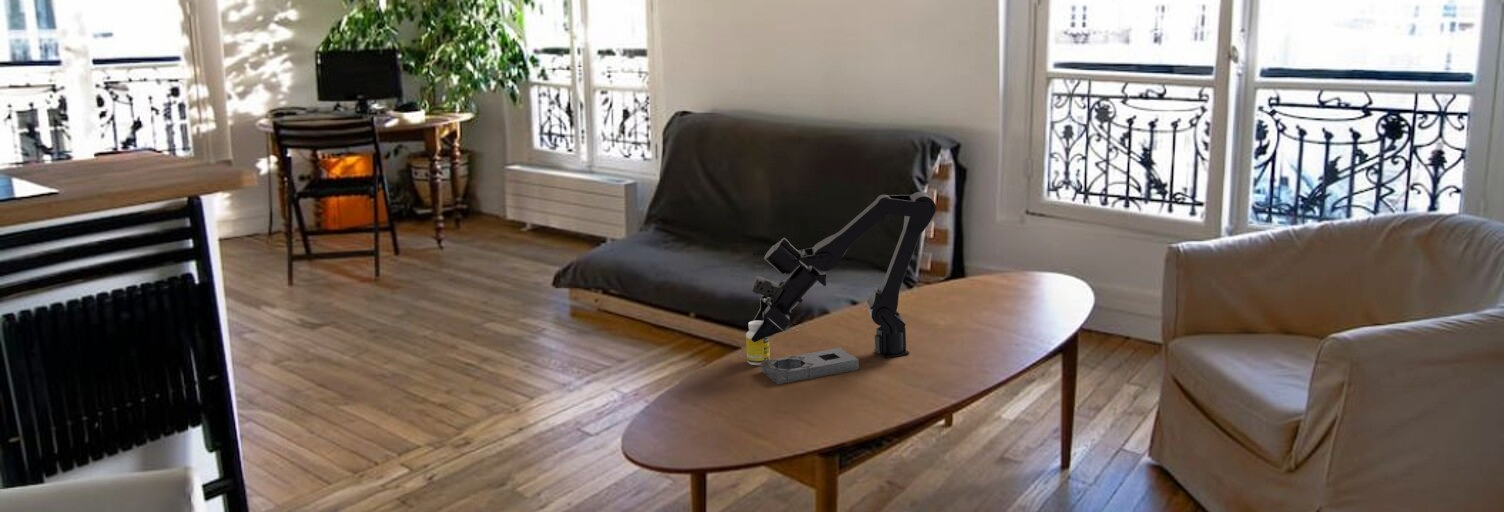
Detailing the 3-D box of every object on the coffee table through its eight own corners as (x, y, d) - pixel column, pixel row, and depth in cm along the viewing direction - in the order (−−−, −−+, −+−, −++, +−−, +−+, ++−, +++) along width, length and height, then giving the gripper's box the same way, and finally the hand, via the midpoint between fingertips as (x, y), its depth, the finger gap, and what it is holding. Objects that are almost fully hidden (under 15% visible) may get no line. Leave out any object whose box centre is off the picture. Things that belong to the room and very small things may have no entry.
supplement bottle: (768, 366, 277) (765, 325, 275) (745, 365, 278) (742, 325, 276) (772, 358, 282) (769, 319, 280) (750, 358, 283) (747, 319, 281)
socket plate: (840, 357, 280) (839, 347, 279) (859, 369, 270) (858, 359, 270) (760, 371, 273) (760, 361, 272) (777, 384, 263) (776, 374, 263)
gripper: (768, 255, 284) (725, 303, 286) (773, 274, 266) (727, 324, 268) (802, 285, 286) (759, 332, 288) (809, 305, 268) (763, 355, 270)
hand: (751, 335), depth 278 cm, fingers open, 9 cm apart
